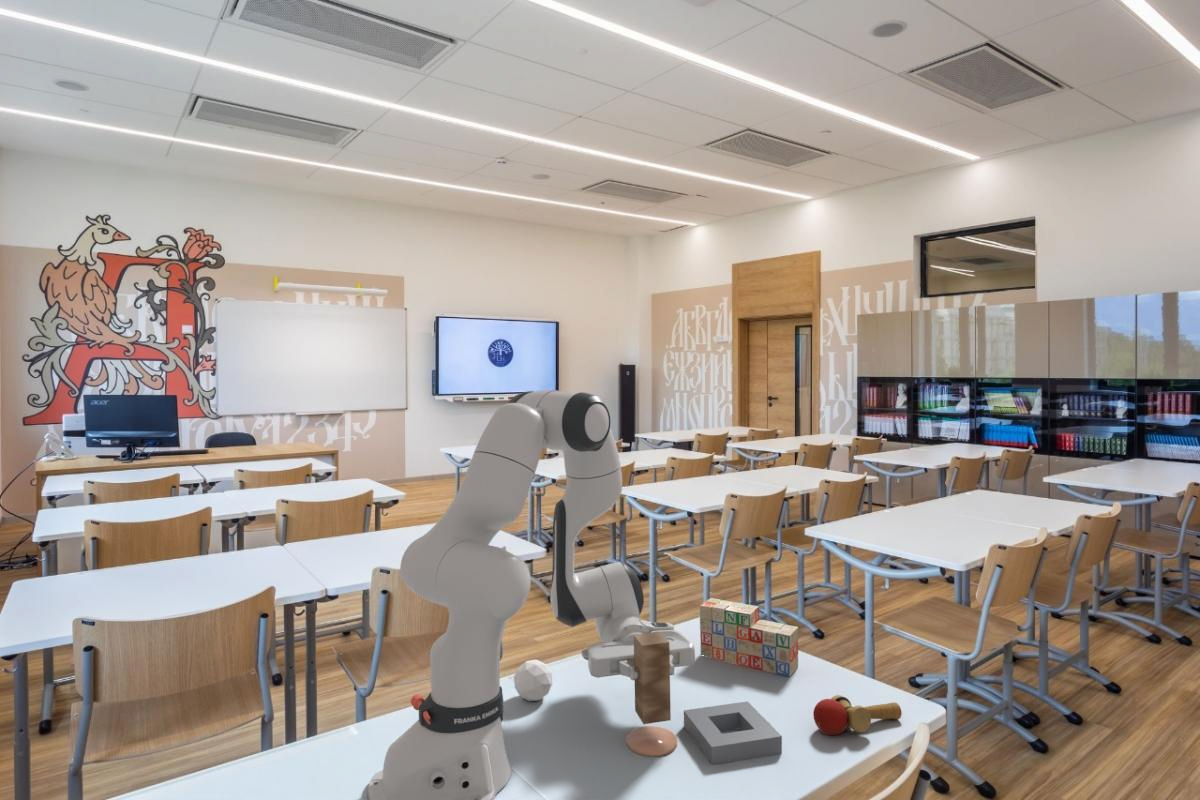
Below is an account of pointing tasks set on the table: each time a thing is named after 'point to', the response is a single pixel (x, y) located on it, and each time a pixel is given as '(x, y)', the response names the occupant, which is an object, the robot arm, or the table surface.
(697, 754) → the table surface
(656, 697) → the walnut block
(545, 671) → the geometric ball
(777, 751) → the pocket holder
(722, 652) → the stack of blocks
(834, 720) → the kendama
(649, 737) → the terracotta coaster
